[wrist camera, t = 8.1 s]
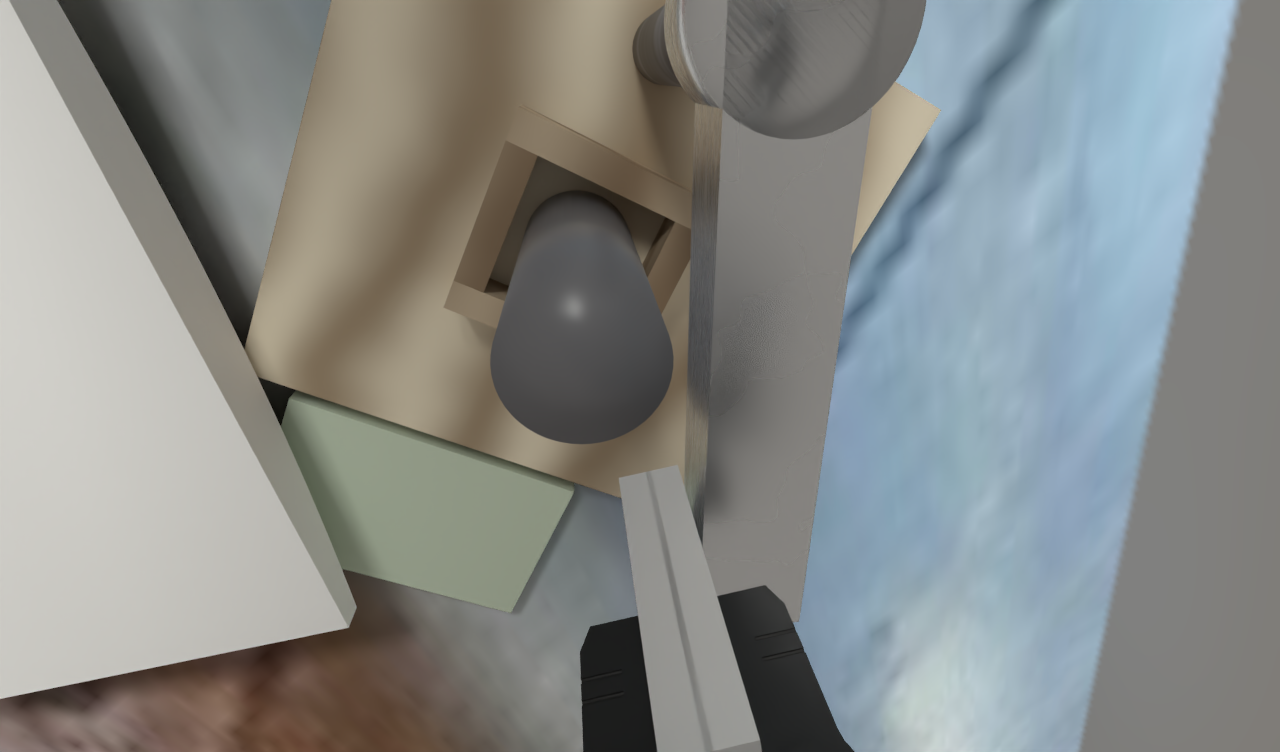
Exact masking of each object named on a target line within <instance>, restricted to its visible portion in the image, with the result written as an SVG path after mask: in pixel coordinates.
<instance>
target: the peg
mask: <svg viewBox="0 0 1280 752" xmlns="http://www.w3.org/2000/svg"><path fill="white" fill-rule="evenodd" d="M673 360H674V356H673V348H672V343H671V340H670V336H669V333H668V331H667V328H666V325H665V323H664V320H663V318H662V315H661V312H660V310H659V307H658V304H657V302H656V299H655V297H654V294H653V291H652V289H651V286H650V283H649V281H648V278H647V275H646V273H645V270H644V268H643V265H642V262H641V260H640V257H639V254H638V252H637V249H636V247H635V244H634V241H633V239H632V236H631V233H630V231H629V228H628V226H627V223H626V221H625V219H624V217H623V216H622V214H621V213H620V211H619V210H618V209H617V208H616V207H615V206H614V205H613V204H612V203H611V202H609V201H608V200H607V199H605V198H603V197H602V196H600V195H597V194H595V193H591V192H587V191H580V190H572V191H566V192H562V193H558V194H556V195H554V196H552V197H550V198H548V199H547V200H545V201H544V202H543V203H542V204H540V205H539V206H538V208H537V209H536V210H535V211H534V213H533V214H532V216H531V217H530V219H529V222H528V224H527V227H526V230H525V234H524V237H523V240H522V244H521V247H520V251H519V254H518V257H517V261H516V264H515V268H514V271H513V275H512V278H511V281H510V285H509V288H508V292H507V295H506V298H505V302H504V305H503V309H502V312H501V315H500V319H499V322H498V326H497V329H496V333H495V336H494V339H493V343H492V348H491V354H490V368H491V376H492V380H493V384H494V387H495V389H496V392H497V394H498V396H499V398H500V400H501V401H502V403H503V405H504V406H505V408H506V409H507V410H508V411H509V413H510V414H511V415H512V416H513V417H514V418H515V419H516V420H517V421H518V422H519V423H521V424H522V425H524V426H525V427H526V428H528V429H529V430H531V431H533V432H534V433H536V434H538V435H540V436H543V437H545V438H548V439H551V440H554V441H558V442H563V443H569V444H594V443H600V442H605V441H608V440H612V439H615V438H618V437H620V436H622V435H625V434H627V433H628V432H630V431H632V430H634V429H635V428H637V427H638V426H639V425H641V424H642V423H643V422H645V421H646V420H647V419H648V418H649V417H650V416H651V415H652V414H653V413H654V411H655V410H656V409H657V408H658V407H659V405H660V403H661V402H662V400H663V399H664V397H665V395H666V393H667V390H668V388H669V385H670V382H671V379H672V373H673Z"/></svg>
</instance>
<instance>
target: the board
mask: <svg viewBox="0 0 1280 752" xmlns="http://www.w3.org/2000/svg"><path fill="white" fill-rule="evenodd" d="M356 608H357V607H356V604H355V601H354V599H353V596H352V594H351V591H350V589H349V586H348V583H347V581H346V578H345V576H344V573H343V571H342V568H341V566H340V563H339V561H338V558H337V556H336V553H335V551H334V549H333V546H332V544H331V541H330V539H329V536H328V534H327V532H326V529H325V527H324V524H323V522H322V520H321V517H320V515H319V513H318V510H317V508H316V505H315V503H314V501H313V498H312V496H311V494H310V491H309V489H308V487H307V485H306V482H305V480H304V478H303V475H302V473H301V471H300V469H299V466H298V464H297V462H296V460H295V457H294V455H293V453H292V451H291V448H290V446H289V444H288V442H287V440H286V437H285V435H284V433H283V431H282V429H281V426H280V424H279V422H278V420H277V418H276V416H275V413H274V411H273V409H272V407H271V405H270V403H269V401H268V398H267V396H266V394H265V392H264V390H263V388H262V386H261V384H260V381H259V379H258V377H257V375H256V373H255V371H254V369H253V367H252V365H251V363H250V361H249V359H248V356H247V354H246V352H245V350H244V348H243V346H242V344H241V342H240V340H239V338H238V336H237V334H236V332H235V330H234V328H233V326H232V324H231V322H230V320H229V318H228V316H227V314H226V312H225V310H224V308H223V306H222V304H221V302H220V300H219V298H218V296H217V294H216V292H215V290H214V288H213V286H212V284H211V282H210V280H209V278H208V276H207V274H206V272H205V270H204V268H203V266H202V264H201V262H200V260H199V259H198V257H197V255H196V253H195V251H194V249H193V247H192V245H191V243H190V241H189V239H188V237H187V235H186V234H185V232H184V230H183V228H182V226H181V224H180V222H179V220H178V218H177V216H176V214H175V213H174V211H173V209H172V207H171V205H170V203H169V201H168V199H167V198H166V196H165V194H164V192H163V190H162V188H161V186H160V184H159V183H158V181H157V179H156V177H155V175H154V173H153V171H152V170H151V168H150V166H149V164H148V162H147V160H146V158H145V157H144V155H143V153H142V151H141V149H140V147H139V146H138V144H137V142H136V140H135V138H134V136H133V135H132V133H131V131H130V129H129V127H128V126H127V124H126V122H125V120H124V118H123V116H122V115H121V113H120V111H119V109H118V107H117V106H116V104H115V102H114V100H113V98H112V97H111V95H110V93H109V91H108V89H107V88H106V86H105V84H104V82H103V80H102V79H101V77H100V75H99V73H98V72H97V70H96V68H95V66H94V64H93V63H92V61H91V59H90V57H89V56H88V54H87V52H86V50H85V48H84V47H83V45H82V43H81V41H80V40H79V38H78V36H77V34H76V33H75V31H74V29H73V27H72V26H71V24H70V22H69V20H68V19H67V17H66V15H65V13H64V12H63V10H62V8H61V6H60V5H59V3H58V1H57V0H0V699H2V698H7V697H12V696H17V695H22V694H27V693H32V692H36V691H41V690H46V689H51V688H56V687H61V686H66V685H71V684H76V683H81V682H85V681H90V680H95V679H100V678H105V677H110V676H115V675H120V674H125V673H129V672H134V671H139V670H144V669H149V668H154V667H159V666H164V665H169V664H173V663H178V662H183V661H188V660H193V659H198V658H203V657H208V656H213V655H218V654H222V653H227V652H232V651H237V650H242V649H247V648H252V647H257V646H262V645H266V644H271V643H276V642H281V641H286V640H291V639H296V638H301V637H306V636H310V635H315V634H320V633H325V632H330V631H335V630H340V629H345V628H349V626H350V623H351V621H352V618H353V616H354V613H355V611H356Z"/></svg>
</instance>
